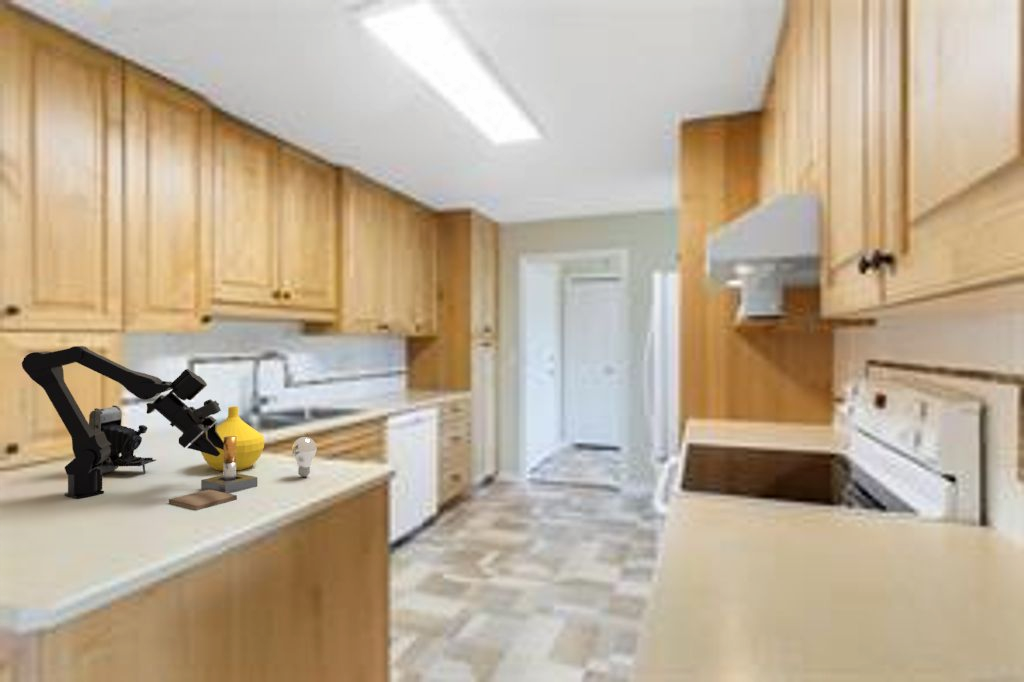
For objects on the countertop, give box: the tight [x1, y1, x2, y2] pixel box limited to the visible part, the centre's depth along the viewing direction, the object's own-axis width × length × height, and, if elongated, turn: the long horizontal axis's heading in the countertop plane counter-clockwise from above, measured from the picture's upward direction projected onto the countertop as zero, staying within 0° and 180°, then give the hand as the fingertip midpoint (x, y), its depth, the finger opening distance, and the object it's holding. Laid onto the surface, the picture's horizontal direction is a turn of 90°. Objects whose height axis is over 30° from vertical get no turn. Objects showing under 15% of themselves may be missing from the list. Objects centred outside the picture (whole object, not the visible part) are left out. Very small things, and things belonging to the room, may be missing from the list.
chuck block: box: [200, 472, 258, 494], centre depth 166 cm, size 10×10×2 cm
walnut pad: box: [168, 490, 238, 511], centre depth 152 cm, size 11×11×1 cm
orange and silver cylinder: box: [222, 436, 237, 481], centre depth 166 cm, size 3×3×14 cm
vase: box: [200, 406, 265, 472], centre depth 189 cm, size 18×18×19 cm
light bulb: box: [291, 436, 318, 478], centre depth 179 cm, size 7×7×12 cm
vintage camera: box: [88, 405, 157, 475], centre depth 179 cm, size 10×15×20 cm, turn 89°
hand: (222, 451), depth 165 cm, fingers open, 9 cm apart
